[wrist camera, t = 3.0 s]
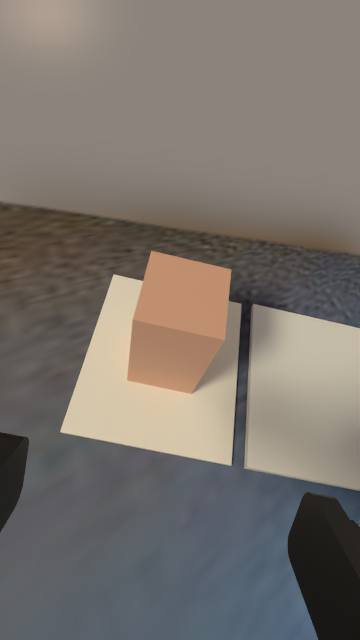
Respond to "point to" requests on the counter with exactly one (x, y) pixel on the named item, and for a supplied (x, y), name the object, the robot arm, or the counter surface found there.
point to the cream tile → (153, 391)
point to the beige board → (303, 398)
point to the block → (178, 322)
